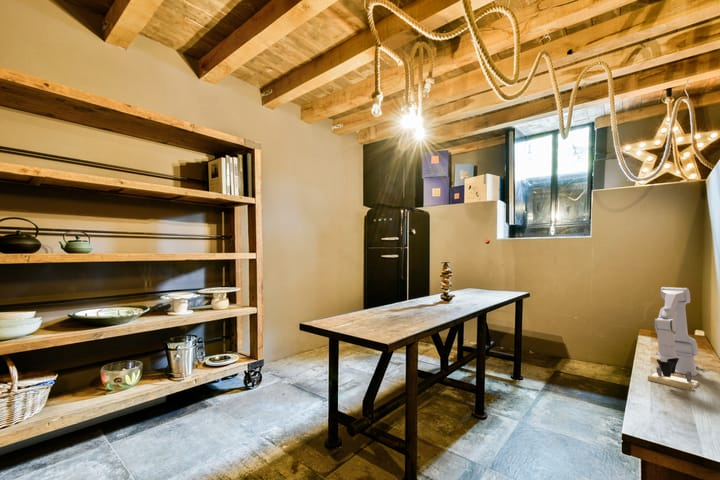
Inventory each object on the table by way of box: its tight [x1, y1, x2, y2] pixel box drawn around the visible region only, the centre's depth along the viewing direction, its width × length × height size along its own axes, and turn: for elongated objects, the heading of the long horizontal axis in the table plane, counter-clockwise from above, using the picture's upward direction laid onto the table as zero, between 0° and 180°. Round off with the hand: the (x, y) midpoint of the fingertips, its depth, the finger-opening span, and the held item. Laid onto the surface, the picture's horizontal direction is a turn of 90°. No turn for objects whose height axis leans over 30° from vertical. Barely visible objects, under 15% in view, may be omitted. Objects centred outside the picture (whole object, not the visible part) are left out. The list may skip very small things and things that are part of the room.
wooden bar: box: [647, 374, 695, 392], centre depth 146 cm, size 2×15×2 cm, turn 31°
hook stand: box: [651, 365, 699, 388], centre depth 151 cm, size 7×15×5 cm, turn 35°
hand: (669, 374), depth 146 cm, fingers open, 7 cm apart
